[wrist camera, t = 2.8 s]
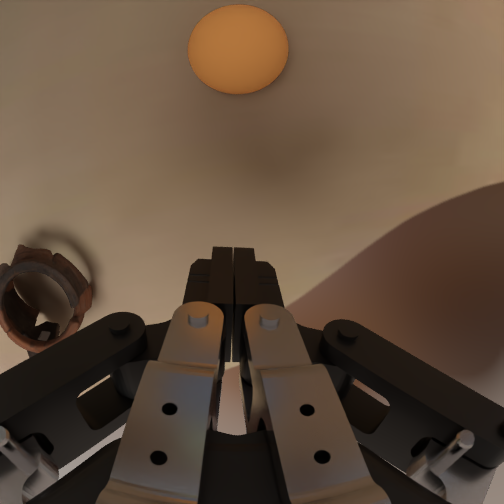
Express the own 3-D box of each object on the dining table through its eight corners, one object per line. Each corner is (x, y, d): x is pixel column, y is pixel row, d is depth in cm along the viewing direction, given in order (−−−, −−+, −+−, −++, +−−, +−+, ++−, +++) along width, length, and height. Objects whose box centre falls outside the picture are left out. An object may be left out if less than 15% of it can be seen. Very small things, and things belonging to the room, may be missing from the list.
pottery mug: (-2, 236, 21) (-28, 254, 14) (86, 230, 26) (89, 246, 19) (19, 351, 23) (10, 398, 16) (98, 343, 28) (109, 388, 21)
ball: (190, 94, 17) (176, 89, 12) (197, 18, 15) (187, -11, 10) (276, 99, 18) (293, 96, 13) (282, 24, 15) (301, -3, 10)
